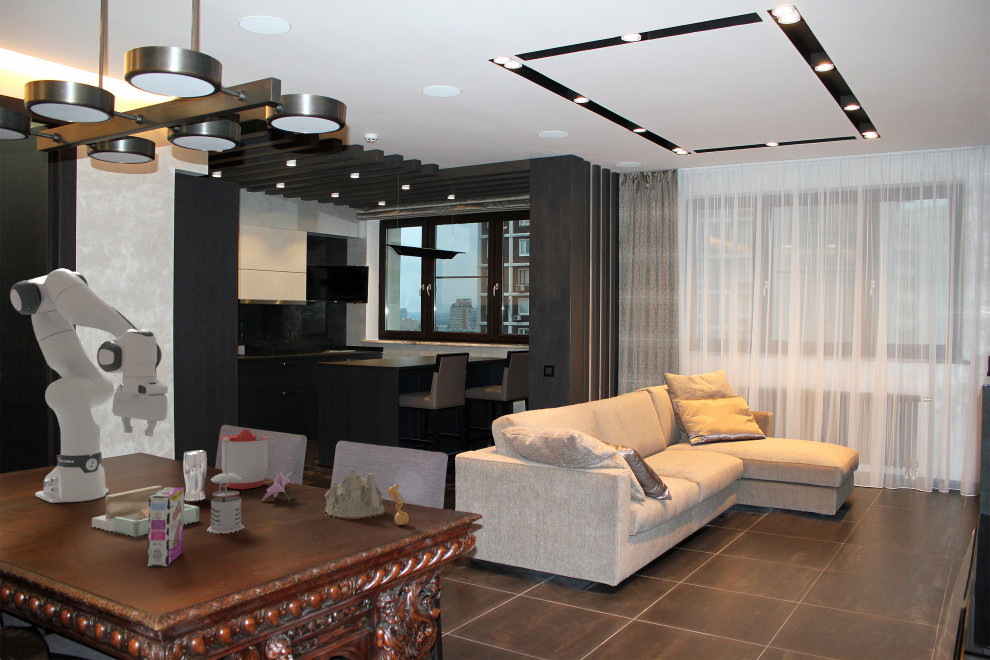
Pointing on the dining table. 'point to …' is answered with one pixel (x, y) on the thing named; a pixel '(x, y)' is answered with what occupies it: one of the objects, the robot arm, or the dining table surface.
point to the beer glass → (195, 474)
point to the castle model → (354, 497)
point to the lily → (278, 485)
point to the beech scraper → (129, 501)
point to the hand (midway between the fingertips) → (138, 434)
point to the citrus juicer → (245, 459)
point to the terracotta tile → (144, 513)
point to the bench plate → (111, 521)
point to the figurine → (401, 516)
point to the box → (142, 525)
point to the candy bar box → (165, 526)
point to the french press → (226, 504)
